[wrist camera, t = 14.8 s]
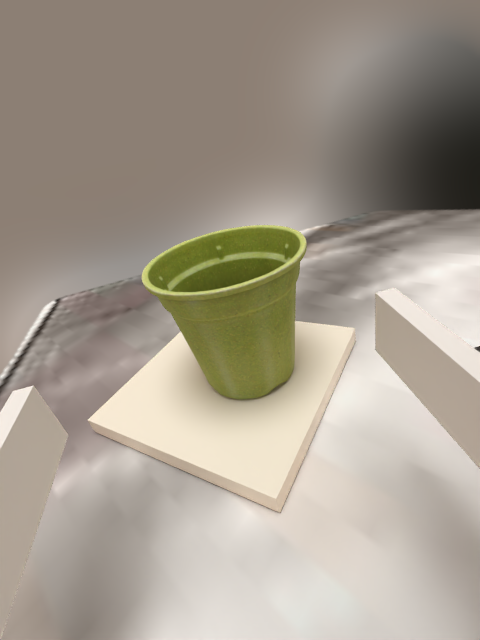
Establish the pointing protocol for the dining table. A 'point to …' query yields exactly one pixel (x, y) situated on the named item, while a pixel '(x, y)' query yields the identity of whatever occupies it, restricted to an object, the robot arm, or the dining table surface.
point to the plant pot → (234, 303)
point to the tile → (229, 416)
